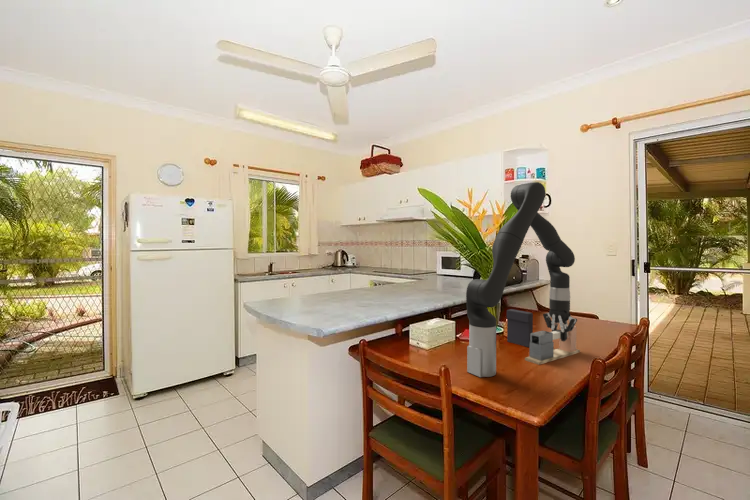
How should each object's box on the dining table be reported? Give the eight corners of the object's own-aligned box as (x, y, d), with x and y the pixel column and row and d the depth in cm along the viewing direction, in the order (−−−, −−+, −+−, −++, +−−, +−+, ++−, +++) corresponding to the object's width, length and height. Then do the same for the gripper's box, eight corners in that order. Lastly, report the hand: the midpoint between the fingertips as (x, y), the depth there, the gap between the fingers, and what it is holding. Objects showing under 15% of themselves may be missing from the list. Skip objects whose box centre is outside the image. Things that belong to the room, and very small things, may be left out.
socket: (570, 352, 145) (570, 327, 144) (559, 348, 149) (559, 325, 149) (576, 350, 147) (576, 326, 147) (564, 347, 151) (564, 324, 151)
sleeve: (541, 360, 134) (541, 335, 134) (529, 357, 139) (529, 333, 138) (553, 357, 139) (553, 333, 138) (541, 353, 143) (541, 330, 143)
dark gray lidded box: (533, 346, 156) (533, 312, 156) (528, 347, 154) (528, 313, 154) (511, 340, 166) (512, 308, 165) (506, 341, 163) (506, 309, 163)
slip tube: (545, 342, 137) (545, 335, 137) (538, 340, 140) (538, 333, 140) (570, 336, 146) (570, 329, 146) (563, 334, 149) (563, 327, 149)
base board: (539, 364, 133) (539, 362, 133) (525, 360, 138) (525, 357, 138) (580, 352, 147) (580, 349, 147) (566, 348, 153) (566, 346, 153)
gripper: (538, 296, 148) (538, 337, 149) (571, 301, 136) (571, 345, 137) (549, 295, 152) (548, 334, 153) (582, 299, 140) (581, 342, 141)
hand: (559, 339), depth 145 cm, fingers closed on slip tube, 3 cm apart
